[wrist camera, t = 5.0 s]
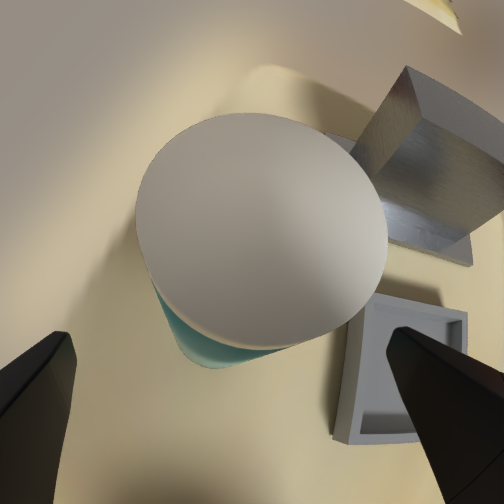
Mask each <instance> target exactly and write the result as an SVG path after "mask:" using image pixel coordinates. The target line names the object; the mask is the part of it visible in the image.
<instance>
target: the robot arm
mask: <svg viewBox="0 0 504 504" xmlns="http://www.w3.org/2000/svg"><path fill="white" fill-rule="evenodd" d="M386 357H387V360H388V363H389V365H390V368H391V371H392V374H393V377H394V379H395V382H396V385H397V388H398V391H399V394H400V396H401V399H402V401H403V403H404V406H405V408H406V410H407V412H408V414H409V417H410V419H411V421H412V423H413V426H414V428H415V430H416V432H417V435H418V437H419V439H420V442H421V444H422V446H423V449H424V451H425V454H426V456H427V458H428V461H429V463H430V466H431V468H432V471H433V473H434V476H435V478H436V481H437V483H438V486H439V488H440V491H441V493H442V496H443V499H444V501H445V504H504V373H502V372H499V371H498V370H496V369H494V368H492V367H490V366H488V365H486V364H484V363H482V362H480V361H478V360H476V359H474V358H472V357H469V356H467V355H465V354H463V353H461V352H459V351H457V350H455V349H453V348H451V347H449V346H447V345H445V344H443V343H441V342H439V341H437V340H435V339H433V338H431V337H429V336H427V335H425V334H423V333H421V332H419V331H417V330H415V329H413V328H410V327H408V326H402V327H397V328H395V329H394V330H393V332H392V335H391V338H390V340H389V343H388V345H387V348H386ZM76 366H77V357H76V353H75V350H74V346H73V343H72V339H71V336H70V334H69V333H68V332H62V331H54V332H52V333H51V334H50V335H48V336H47V337H45V338H44V339H43V340H41V341H40V342H39V343H37V344H36V345H34V346H33V347H31V348H30V349H29V350H27V351H26V352H24V353H23V354H22V355H20V356H19V357H17V358H16V359H15V360H13V361H12V362H11V363H9V364H8V365H7V366H5V367H4V368H2V369H1V370H0V504H53V500H54V493H55V486H56V480H57V474H58V468H59V462H60V457H61V452H62V447H63V442H64V437H65V432H66V428H67V423H68V419H69V414H70V408H71V400H72V393H73V385H74V379H75V372H76Z"/></svg>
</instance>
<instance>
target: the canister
mask: <svg viewBox="0 0 504 504" xmlns="http://www.w3.org/2000/svg"><path fill="white" fill-rule="evenodd" d="M135 224H136V231H137V238H138V242H139V245H140V249H141V252H142V255H143V258H144V261H145V264H146V266H147V269H148V272H149V274H150V277H151V280H152V282H153V285H154V287H155V290H156V293H157V295H158V298H159V300H160V303H161V305H162V308H163V310H164V313H165V315H166V318H167V320H168V322H169V325H170V327H171V329H172V332H173V334H174V336H175V339H176V341H177V343H178V346H179V347H180V349H181V351H182V352H183V353H184V355H185V356H186V357H187V358H188V359H190V360H191V361H192V362H194V363H196V364H198V365H200V366H202V367H206V368H212V369H220V368H226V367H229V366H233V365H236V364H239V363H243V362H246V361H249V360H252V359H255V358H258V357H262V356H265V355H268V354H271V353H274V352H277V351H280V350H283V349H286V348H288V347H291V346H294V345H297V344H300V343H303V342H305V341H308V340H311V339H314V338H316V337H319V336H322V335H324V334H326V333H328V332H330V331H332V330H334V329H336V328H338V327H340V326H341V325H343V324H344V323H346V322H347V321H348V320H350V319H351V318H352V317H354V316H355V315H356V314H357V313H358V312H359V311H360V310H361V309H362V308H363V307H364V306H365V304H366V303H367V301H368V300H369V299H370V297H371V296H372V295H373V293H374V291H375V289H376V287H377V286H378V284H379V282H380V279H381V276H382V274H383V271H384V268H385V263H386V258H387V251H388V232H387V223H386V218H385V214H384V210H383V207H382V204H381V201H380V198H379V196H378V194H377V192H376V190H375V188H374V186H373V184H372V183H371V181H370V179H369V178H368V176H367V175H366V173H365V172H364V171H363V169H362V168H361V167H360V165H359V164H358V163H357V162H356V161H355V160H354V159H353V158H352V157H351V155H350V154H349V153H348V152H346V151H345V150H344V149H343V148H342V147H341V146H339V145H338V144H337V143H336V142H334V141H333V140H331V139H330V138H328V137H327V136H326V135H324V134H322V133H320V132H319V131H317V130H315V129H313V128H311V127H309V126H307V125H304V124H302V123H300V122H297V121H294V120H291V119H288V118H284V117H279V116H275V115H269V114H261V113H238V114H229V115H223V116H218V117H214V118H211V119H208V120H205V121H202V122H200V123H198V124H195V125H193V126H191V127H189V128H188V129H186V130H184V131H182V132H181V133H179V134H178V135H177V136H175V137H174V138H173V139H172V140H170V141H169V142H168V143H167V144H166V145H165V146H164V147H163V148H162V149H161V150H160V151H159V152H158V154H157V155H156V156H155V158H154V159H153V160H152V162H151V163H150V165H149V167H148V169H147V171H146V172H145V174H144V176H143V179H142V182H141V185H140V188H139V191H138V196H137V201H136V213H135Z"/></svg>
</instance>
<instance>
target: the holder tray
mask: <svg viewBox="0 0 504 504" xmlns="http://www.w3.org/2000/svg"><path fill="white" fill-rule="evenodd" d="M402 326H408V327H410V328H413V329H415V330H417V331H419V332H421V333H423V334H425V335H427V336H429V337H431V338H433V339H435V340H437V341H439V342H441V343H443V344H445V345H447V346H449V347H451V348H453V349H455V350H457V351H459V352H461V353H463V354H465V355H467V347H468V313H467V312H463V311H459V310H454V309H449V308H445V307H440V306H435V305H430V304H426V303H421V302H416V301H412V300H407V299H403V298H398V297H393V296H389V295H384V294H380V293H375V292H374V293H373V295H372V296H371V297H370V299H369V300H368V301H367V303H366V304H365V306H364V307H363V308H362V309H361V310H360V311H359V312H358V313H357V314H356V315H355V316H354V317H352V318H351V319H350V320H349V323H348V333H347V343H346V352H345V360H344V368H343V376H342V383H341V390H340V397H339V403H338V410H337V416H336V422H335V427H334V433H333V438H332V439H333V440H336V441H338V442H341V443H344V444H347V445H375V444H399V443H413V442H420V439H419V437H418V435H417V432H416V430H415V428H414V426H413V423H412V421H411V419H410V417H409V414H408V412H407V410H406V408H405V406H404V403H403V401H402V399H401V396H400V394H399V391H398V388H397V385H396V382H395V379H394V377H393V374H392V371H391V368H390V365H389V363H388V360H387V357H386V348H387V345H388V343H389V340H390V338H391V335H392V332H393V330H394V329H395V328H397V327H402Z"/></svg>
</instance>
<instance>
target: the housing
mask: <svg viewBox="0 0 504 504" xmlns="http://www.w3.org/2000/svg"><path fill="white" fill-rule="evenodd" d="M324 135H326V136H327V137H328V138H330V139H331V140H333V141H334V142H336V143H337V144H338V145H339V146H341V147H342V148H343V149H344V150H345V151H346V152H348V153H349V154H350V155H351V157H352V158H353V159H354V160H355V161H356V162H357V163H358V164H359V165H360V167H361V168H362V169H363V171H364V172H365V173H366V175H367V176H368V178H369V179H370V181H371V183H372V184H373V186H374V188H375V190H376V192H377V194H378V196H379V198H380V201H381V204H382V207H383V210H384V214H385V218H386V223H387V232H388V242H389V243H392V244H396V245H399V246H403V247H406V248H409V249H412V250H416V251H419V252H422V253H425V254H429V255H432V256H435V257H438V258H441V259H444V260H448V261H451V262H454V263H457V264H460V265H463V266H466V267H470V266H472V265H473V257H472V248H471V241H470V234H469V233H471V232H472V231H474V230H475V229H477V228H478V227H480V226H481V225H483V224H484V223H486V222H487V221H489V220H490V219H492V218H493V217H494V216H496V215H497V214H499V213H500V212H502V211H503V210H504V124H503V123H502V122H501V121H499V120H498V119H497V118H495V117H494V116H492V115H491V114H489V113H488V112H487V111H485V110H483V109H482V108H481V107H479V106H478V105H476V104H474V103H473V102H471V101H470V100H468V99H466V98H465V97H463V96H462V95H460V94H458V93H457V92H455V91H453V90H452V89H450V88H448V87H447V86H445V85H443V84H441V83H439V82H438V81H436V80H434V79H432V78H430V77H428V76H427V75H425V74H423V73H421V72H419V71H417V70H415V69H413V68H411V67H409V66H407V65H406V66H405V68H404V69H403V71H402V73H401V74H400V76H399V77H398V79H397V80H396V82H395V84H394V85H393V87H392V88H391V90H390V91H389V93H388V95H387V96H386V98H385V99H384V101H383V102H382V104H381V105H380V107H379V109H378V110H377V112H376V113H375V115H374V116H373V118H372V119H371V121H370V122H369V124H368V125H367V127H366V128H365V130H364V131H363V133H362V134H361V136H360V138H359V139H358V141H357V142H356V141H353V140H350V139H347V138H344V137H341V136H338V135H335V134H332V133H329V132H325V134H324Z"/></svg>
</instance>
